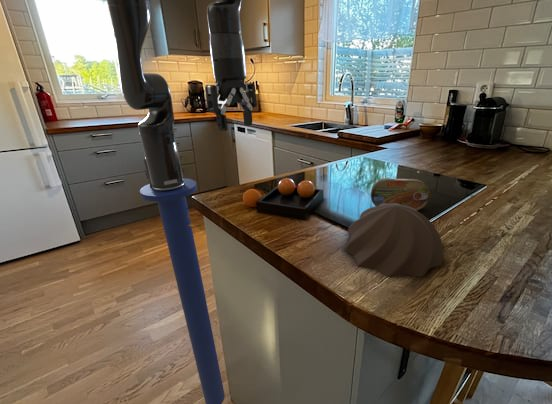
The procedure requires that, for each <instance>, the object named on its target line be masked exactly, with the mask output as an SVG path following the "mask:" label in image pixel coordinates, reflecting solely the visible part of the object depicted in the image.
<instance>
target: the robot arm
mask: <svg viewBox="0 0 552 404" xmlns="http://www.w3.org/2000/svg"><path fill="white" fill-rule="evenodd" d="M106 2H107V8H108V13H109V16H110V20H111V25H112V31H113V35H114V41H115V47H116V55H117V63H118V75H119V83H120V89H121V93H122V96H123V98H124V101H125V103H126V104H127V105H128V106H129V108H131V109H133V110H137V111H143V110H148V114H147V116H146V117H145V118H144V119H143V120H141V121H140V122H139V123H138V124H137V129H138V133H139V138H140V141H141V146H142V149H143V153H144V158H143V164H144V168H145V175H146V179H147V180H148V184H150V188H152V189H153V190H154V191H158V192H166V191H173V190H177V189H179V188H182V187H183V186H184V185H185V183H184V180H183V178H184V176H183V169H182V165H181V159H180V154H179V150H178V149H179V148H178V145H177V140H176V134H175V129H174V124H175V113H174V106H173V98H172V92H171V89H170V86H169V84H168V82H167V80H166V79H165V78H164V77H163V76H162V75H161V74H159V73H152V72H151V73H149V72H147V73H145V72H144V71H143V70H144V69H143V60H142V54H143V47H144V45H145V41H146V39H147V37H148V33H149V31H150V28H151V25H152V9H151V5H150V4H151V3H150V0H106ZM241 7H242V0H216V1H215V2H211V3H209V4H208V6H207V7H206V17H207V25H208V35H209V49H210V50H209V51H210V57H211V58H210V59H211V64H212V65H211V66H212V71H213V77H214V80H215V81H216V83H215V84H216V85H215V84H206V85H205V87H204V88H205V97H206V108H207V109H206V110H207V112H208V113H210V114H211V113H212V114H214V115H215V117H216V124H217V128H218V130H219V131H220V132H221V131H222V132H227V131H228V121H227V115H226V112H227V109H228V108H229V107H230V105H231V104H235V103H236V104H238V105H240V107H241V109H242V114H243V115H242V117H243V125H244V126H246V127H250V126H252V125H253V112H252V111H253V110H254V108H258V100H257V93H256V85H255V83H254V82H245V79H246V78H247V68H246V59H245V58H246V55H245V46H244V42H243V38H242V26H241V17H240V13H241Z"/></svg>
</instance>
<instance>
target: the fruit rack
mask: <svg viewBox="0 0 552 404" xmlns="http://www.w3.org/2000/svg"><path fill="white" fill-rule="evenodd" d="M323 201H324V189H319V188H316V186H315V184H314V183H313V182H312V181H310V180H307V179H306V180H302V181H300V182H299V183H298V184H297V185H296V183H295V181H294V180H293V179H292V178H290V177H285V178H281V180H279V182H278V184H277V186H275V187H274V188H273V189H271V190H270V191H269V192H267V193H266V194H264V195H262V196H261V198H260V199H259V200H258V201H256V207H255V208H256V213H260V214H266V215H272V216H278V217H284V218H290V219H297V220H302V221H306V220H307V219H308V218H309V217H310V216H311V214H313V212H314V211H315V210H316V209H317V208H318V206H319V205H320V204H321V203H322V202H323Z"/></svg>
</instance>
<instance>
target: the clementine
mask: <svg viewBox="0 0 552 404" xmlns="http://www.w3.org/2000/svg"><path fill="white" fill-rule="evenodd" d="M260 198H262V194H261V192H260V191H259V190H257V189H255V188H250V189H248V190H246V191H245V192H244V193H243V196H242V202H243V203H244V204H245V206H247V207H249V208H257V207H256V201H258V200H259V199H260Z"/></svg>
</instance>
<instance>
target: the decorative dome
mask: <svg viewBox="0 0 552 404" xmlns="http://www.w3.org/2000/svg"><path fill="white" fill-rule="evenodd" d="M347 233H348V236H349V240H348V242H347V243H346V245H345V247H344V250H345V252H347V254H350V255H351V256H352V257H354V260H355V263H356V265H357V267H361V268H365V269H369V270H374V271H376V272H378V273H380V274H381V275H382V276H385V277H387V278H395V277H399V276H404V275H405V276H413V277H420V278H422V277H424V276H426V274H427V272H428V271H429V270H430V269H432V268H435V267H438V266H442V264H443V258H444V246H443V241H442V238H441V236H440V234H439V232H438V229H437V228H436V227H435V225H434V224H433V223H432V222H431V221H430V220H429V219H428V217H427V216H425V215H424V214H422V212H419V211H418V210H417V211H416V210H415V209H413V208H412V207H410V206H407V205H400V204H397V203H393V204H389V203H384V204H380V205H379V206H372V207H369V208H366V209H365V210H363V211H362V212H361V213H360V215H359V217H358V219H357V220H355V221H353V222H352V223H351V224H350V225H349V226H348V228H347Z"/></svg>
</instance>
